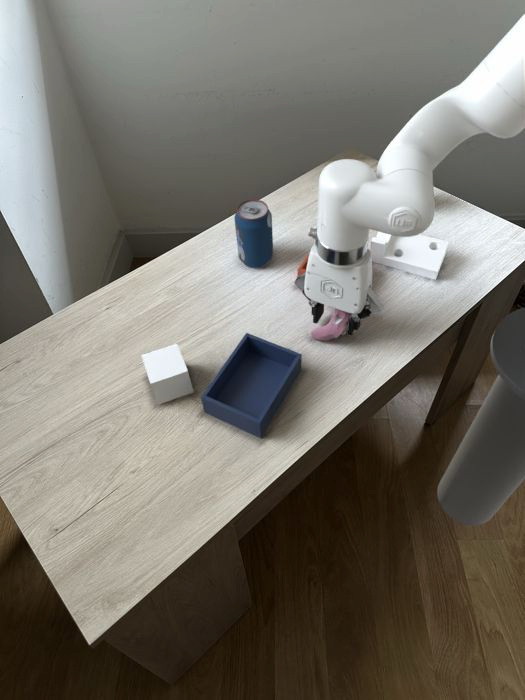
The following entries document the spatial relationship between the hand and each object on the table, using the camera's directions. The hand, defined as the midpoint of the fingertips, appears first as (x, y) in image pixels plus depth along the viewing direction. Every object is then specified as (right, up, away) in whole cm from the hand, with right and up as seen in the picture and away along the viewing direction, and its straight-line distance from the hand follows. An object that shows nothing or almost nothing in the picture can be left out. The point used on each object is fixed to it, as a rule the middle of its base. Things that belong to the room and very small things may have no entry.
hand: (335, 323), depth 91 cm
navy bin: (-14, -11, -6) cm, 19 cm away
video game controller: (0, 0, +1) cm, 1 cm away
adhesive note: (-28, -10, -5) cm, 30 cm away
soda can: (-14, +14, +13) cm, 24 cm away
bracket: (+15, +13, +11) cm, 23 cm away
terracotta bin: (0, +9, +8) cm, 12 cm away
